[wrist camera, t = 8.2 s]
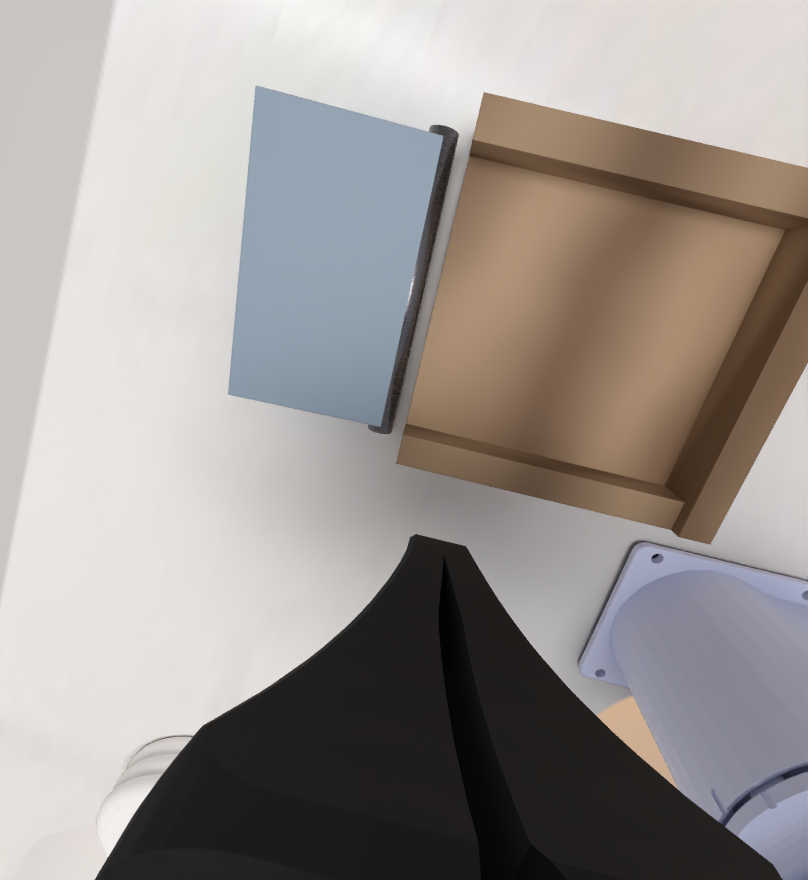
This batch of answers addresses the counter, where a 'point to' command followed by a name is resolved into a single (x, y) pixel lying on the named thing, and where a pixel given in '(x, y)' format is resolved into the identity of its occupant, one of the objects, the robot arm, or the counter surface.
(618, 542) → the counter surface
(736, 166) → the wooden tray
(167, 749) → the coaster
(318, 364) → the tailgate
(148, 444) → the counter surface
